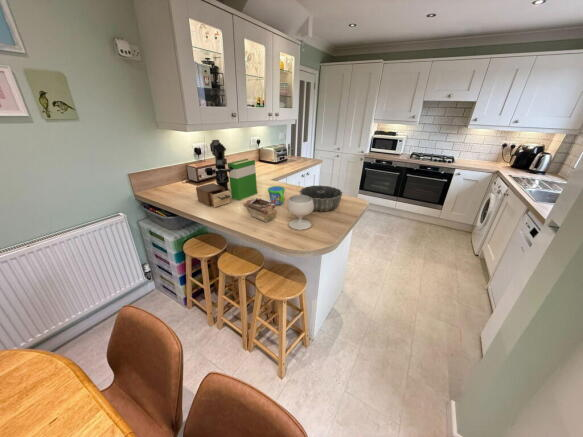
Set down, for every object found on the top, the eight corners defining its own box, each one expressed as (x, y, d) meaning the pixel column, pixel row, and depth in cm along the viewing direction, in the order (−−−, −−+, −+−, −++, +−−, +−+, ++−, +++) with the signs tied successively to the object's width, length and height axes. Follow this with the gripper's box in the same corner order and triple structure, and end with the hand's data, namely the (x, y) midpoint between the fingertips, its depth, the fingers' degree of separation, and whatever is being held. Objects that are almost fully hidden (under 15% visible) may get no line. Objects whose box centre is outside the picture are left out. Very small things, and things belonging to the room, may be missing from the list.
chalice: (300, 216, 134) (300, 192, 127) (318, 225, 124) (320, 198, 118) (281, 224, 125) (281, 198, 118) (300, 233, 116) (300, 206, 109)
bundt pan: (309, 196, 164) (309, 182, 159) (346, 202, 153) (347, 188, 148) (292, 209, 143) (292, 194, 138) (333, 218, 132) (334, 202, 127)
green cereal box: (249, 191, 174) (247, 158, 163) (257, 193, 170) (254, 160, 159) (231, 198, 161) (227, 163, 150) (239, 200, 157) (235, 164, 146)
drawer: (234, 204, 149) (233, 192, 145) (219, 209, 141) (217, 197, 138) (219, 197, 160) (217, 186, 156) (203, 201, 152) (201, 190, 149)
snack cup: (265, 200, 156) (264, 186, 152) (279, 198, 160) (279, 184, 156) (273, 209, 144) (273, 193, 139) (289, 206, 148) (289, 190, 143)
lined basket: (259, 227, 123) (257, 210, 118) (238, 215, 136) (236, 199, 131) (277, 219, 131) (277, 203, 126) (256, 209, 144) (255, 194, 139)
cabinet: (226, 201, 156) (224, 187, 151) (209, 206, 147) (207, 192, 143) (214, 196, 164) (212, 182, 160) (198, 200, 156) (195, 187, 152)
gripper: (203, 154, 143) (204, 177, 138) (234, 153, 147) (236, 175, 142) (206, 164, 154) (207, 185, 149) (235, 163, 157) (237, 183, 153)
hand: (222, 182), depth 148 cm, fingers closed
